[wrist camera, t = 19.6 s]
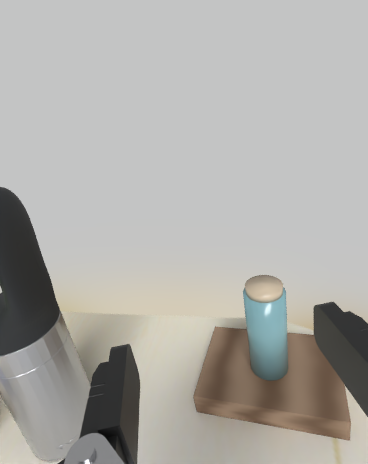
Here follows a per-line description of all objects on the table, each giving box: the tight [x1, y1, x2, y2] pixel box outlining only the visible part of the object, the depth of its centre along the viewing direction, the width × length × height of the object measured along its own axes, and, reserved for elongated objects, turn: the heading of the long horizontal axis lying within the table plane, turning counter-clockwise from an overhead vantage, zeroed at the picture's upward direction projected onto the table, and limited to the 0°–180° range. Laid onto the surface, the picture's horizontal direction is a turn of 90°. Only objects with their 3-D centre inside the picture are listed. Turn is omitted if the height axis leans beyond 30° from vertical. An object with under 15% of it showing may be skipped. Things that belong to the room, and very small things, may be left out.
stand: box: [194, 327, 351, 440], centre depth 42 cm, size 18×13×3 cm
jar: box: [243, 275, 288, 381], centre depth 39 cm, size 5×5×13 cm
